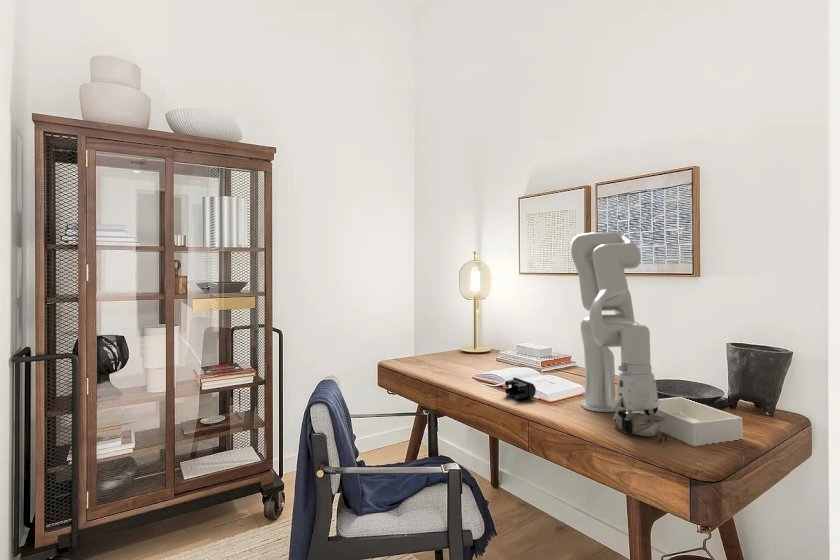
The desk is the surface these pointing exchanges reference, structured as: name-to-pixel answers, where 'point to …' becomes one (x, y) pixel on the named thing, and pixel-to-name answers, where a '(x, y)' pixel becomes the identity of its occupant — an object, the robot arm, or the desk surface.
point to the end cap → (520, 390)
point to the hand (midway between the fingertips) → (637, 431)
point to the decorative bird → (642, 424)
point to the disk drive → (719, 403)
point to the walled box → (697, 422)
